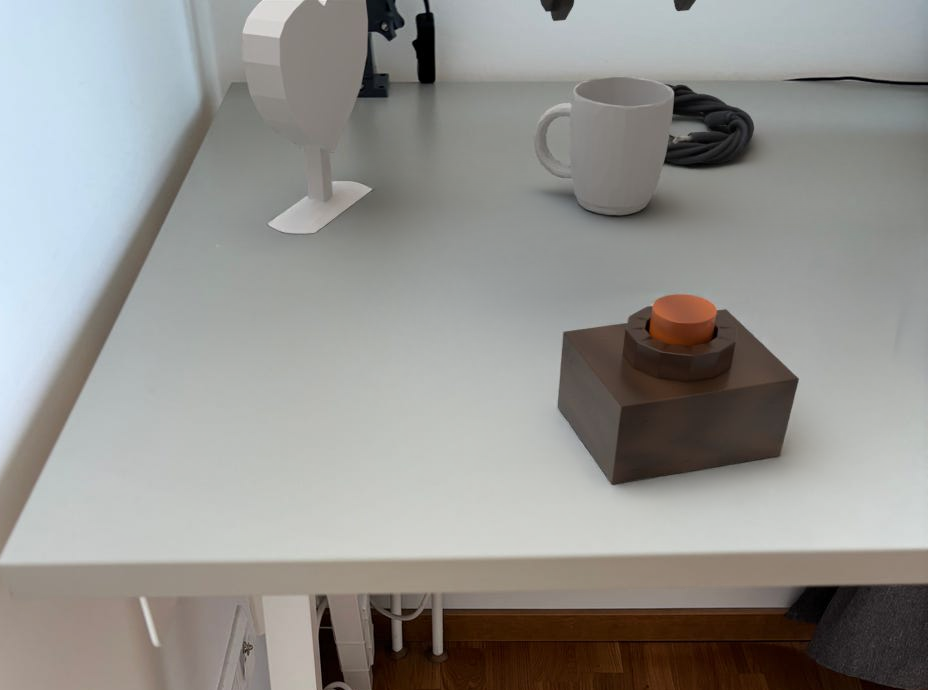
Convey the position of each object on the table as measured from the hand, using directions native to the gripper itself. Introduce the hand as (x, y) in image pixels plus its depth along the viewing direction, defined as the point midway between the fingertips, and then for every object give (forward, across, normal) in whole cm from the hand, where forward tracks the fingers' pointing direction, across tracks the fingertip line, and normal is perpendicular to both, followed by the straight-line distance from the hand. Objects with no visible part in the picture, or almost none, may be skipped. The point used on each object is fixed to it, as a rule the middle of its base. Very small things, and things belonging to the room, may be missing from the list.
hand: (627, 8), depth 68 cm
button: (+20, 0, +2) cm, 20 cm away
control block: (+25, 0, +7) cm, 26 cm away
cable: (-11, +28, +44) cm, 53 cm away
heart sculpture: (-6, -13, +40) cm, 42 cm away
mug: (-2, +12, +35) cm, 37 cm away
